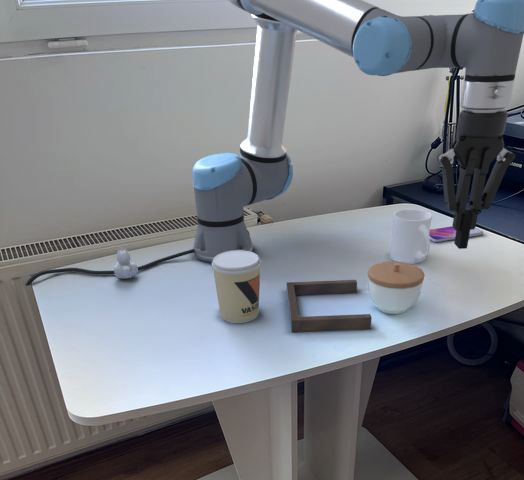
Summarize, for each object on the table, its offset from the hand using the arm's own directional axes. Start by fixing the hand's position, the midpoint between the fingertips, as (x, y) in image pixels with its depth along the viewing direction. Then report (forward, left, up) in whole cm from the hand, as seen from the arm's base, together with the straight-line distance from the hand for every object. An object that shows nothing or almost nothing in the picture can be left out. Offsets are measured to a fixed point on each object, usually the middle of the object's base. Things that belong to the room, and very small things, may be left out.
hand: (460, 245), depth 96 cm
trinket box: (-12, 0, -13) cm, 17 cm away
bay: (-25, 0, -13) cm, 28 cm away
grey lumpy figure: (-70, +20, -13) cm, 73 cm away
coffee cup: (-43, 0, -13) cm, 45 cm away
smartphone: (+13, +40, -13) cm, 44 cm away
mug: (-2, +24, -13) cm, 27 cm away
